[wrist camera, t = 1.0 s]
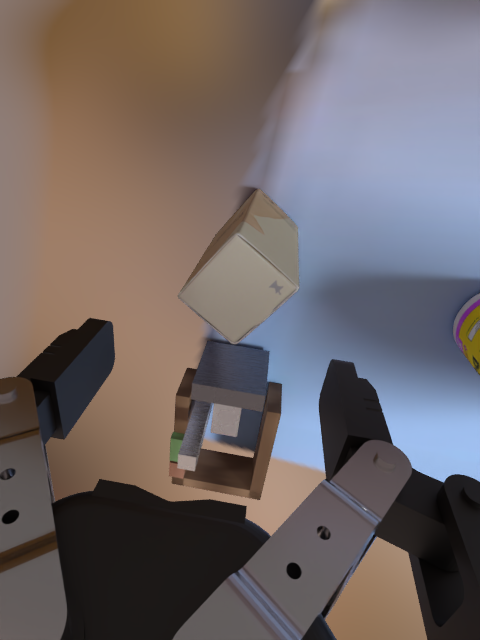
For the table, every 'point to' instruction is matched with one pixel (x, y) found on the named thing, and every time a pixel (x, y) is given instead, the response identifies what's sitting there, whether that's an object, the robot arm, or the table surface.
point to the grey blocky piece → (223, 394)
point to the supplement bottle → (469, 331)
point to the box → (245, 269)
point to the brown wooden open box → (220, 467)
